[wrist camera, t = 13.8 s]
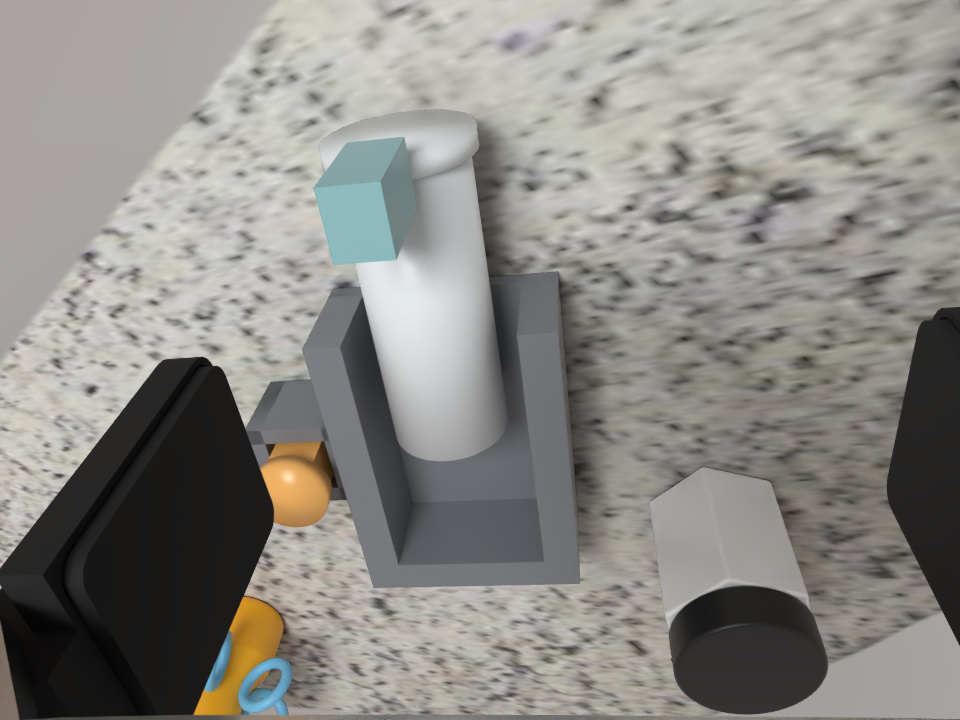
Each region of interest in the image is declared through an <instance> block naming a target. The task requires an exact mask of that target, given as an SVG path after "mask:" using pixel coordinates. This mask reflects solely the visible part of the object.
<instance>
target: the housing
mask: <svg viewBox="0 0 960 720" xmlns="http://www.w3.org/2000/svg"><path fill="white" fill-rule="evenodd" d="M489 283H490V290H491V298H492V305H493V312H494V319H495V327H496V334H497V341H498V348H499V356H500V363H501V370H502V377H503V385H504V392H505V399H506V406H507V414H508V424H507V427H506V430H505V432H504V433H503V435H502V436H501V437H500V439H499V440H498V441H497V442H496V443H494V444H493V445H492V446H490V447H489V448H487V449H486V450H484V451H482V452H480V453H478V454H476V455H473V456H470V457H467V458H463V459H459V460H453V461H430V460H424V459H421V458H417V457H415V456H413V455H411V454H409V453H408V452H406V451H405V450H404V449H403V448H402V447H401V446H400V445H399V443H398V441H397V437H396V433H395V429H394V425H393V420H392V416H391V412H390V408H389V404H388V400H387V395H386V391H385V387H384V383H383V379H382V375H381V370H380V366H379V362H378V358H377V354H376V350H375V345H374V341H373V337H372V333H371V329H370V324H369V320H368V316H367V312H366V308H365V304H364V299H363V295H362V291H361V287H352V288H339V289H333V290H332V292H331V294H330V296H329V298H328V300H327V302H326V304H325V306H324V308H323V310H322V312H321V314H320V315H319V317H318V319H317V321H316V323H315V325H314V327H313V329H312V331H311V333H310V335H309V337H308V339H307V341H306V343H305V345H304V347H303V349H302V351H303V354H304V357H305V361H306V364H307V367H308V371H309V374H310V377H311V380H296V381H279V382H270V384H269V386H268V388H267V390H266V391H265V393H264V395H263V397H262V399H261V401H260V403H259V404H258V406H257V408H256V410H255V412H254V414H253V416H252V417H251V419H250V421H249V423H248V425H247V427H246V428H245V429H246V432H247V435H248V437H249V440H250V443H251V445H252V448H253V451H254V454H255V456H256V459H257V462H258V464H259V467H261V465H262V464H263V463H264V462H266V461H267V460H268V459H269V457H270V455H271V453H272V451H273V449H274V447H275V445H276V444H279V443H300V442H320V441H324V442H325V446H326V449H327V452H328V455H329V459H330V462H331V465H332V469H333V472H334V475H333V477H332V480H331V484H332V496H331V499H330V500H347V501H348V504H349V507H350V511H351V514H352V517H353V521H354V524H355V527H356V531H357V534H358V537H359V541H360V544H361V547H362V551H363V554H364V557H365V561H366V564H367V567H368V571H369V574H370V577H371V581H372V584H373V587H374V588H394V587H444V586H494V585H544V584H580V568H579V531H578V504H577V492H576V480H575V468H574V456H573V444H572V432H571V420H570V408H569V396H568V384H567V372H566V360H565V348H564V336H563V324H562V312H561V300H560V288H559V276H558V272H546V273H533V274H521V275H508V276H495V277H489Z"/></svg>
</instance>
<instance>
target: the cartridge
mask: <svg viewBox="0 0 960 720" xmlns="http://www.w3.org/2000/svg"><path fill="white" fill-rule="evenodd" d="M478 149H479V139H478V131H477V124H476V120H475V119H474V118H473V117H472V116H470V115H468V114H466V113H462V112H458V111H451V110H416V111H407V112H399V113H393V114H388V115H383V116H378V117H374V118H370V119H366V120H363V121H360V122H356V123H353V124H351V125H348V126H345V127H343V128H341V129H339V130H337V131H335V132H333V133H331V134H329V135H328V136H327V137H325V138H324V139H323V140H322V141H321V142H320V144H319V146H318V150H319V154H320V159H321V163H322V167H323V171H324V174H323V176H322V177H321V179H320V180H319V181H318V183H317V184H316V185H315V187H314V191H315V195H316V199H317V203H318V207H319V211H320V214H321V218H322V222H323V226H324V230H325V234H326V238H327V242H328V246H329V250H330V253H331V257H332V261H333V265H341V264H353V263H355V266H356V270H357V274H358V279H359V283H360V287H361V291H362V295H363V299H364V304H365V308H366V312H367V316H368V320H369V324H370V329H371V333H372V337H373V341H374V345H375V350H376V354H377V358H378V362H379V366H380V370H381V375H382V379H383V383H384V387H385V391H386V395H387V400H388V404H389V408H390V412H391V416H392V420H393V425H394V429H395V433H396V437H397V441H398V443H399V445H400V446H401V447H402V448H403V449H404V450H405V451H406V452H408V453H409V454H411V455H413V456H415V457H417V458H421V459H424V460H430V461H453V460H459V459H463V458H467V457H470V456H473V455H476V454H478V453H480V452H482V451H484V450H486V449H487V448H489V447H490V446H492V445H493V444H494V443H496V442H497V441H498V440H499V439H500V437H501V436H502V435H503V433H504V432H505V430H506V427H507V424H508V414H507V406H506V399H505V392H504V385H503V377H502V370H501V363H500V356H499V348H498V341H497V334H496V327H495V319H494V312H493V305H492V298H491V290H490V283H489V276H488V269H487V261H486V254H485V247H484V240H483V232H482V225H481V218H480V211H479V203H478V196H477V189H476V182H475V174H474V167H473V160H472V156H473V155H474V154H475V153H476V152H477V151H478Z"/></svg>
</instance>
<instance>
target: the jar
mask: <svg viewBox="0 0 960 720" xmlns="http://www.w3.org/2000/svg"><path fill="white" fill-rule="evenodd" d="M649 506H650V513H651V520H652V528H653V535H654V542H655V549H656V557H657V564H658V571H659V579H660V586H661V593H662V600H663V608H664V615H665V618H666V622H667V625H668V628H669V641H670V648H671V655H672V658H671V660H672V663H673V670H674V676H675V679H676V682H677V684H678V686H679V687H680V689H681V690H682V691H683V692H684V693H685V694H686V695H687V696H688V697H689V698H690V699H692V700H693V701H695V702H697V703H698V704H700V705H702V706H704V707H707V708H710V709H713V710H716V711H720V712H725V713H733V714H762V713H768V712H774V711H778V710H781V709H785V708H788V707H790V706H793V705H795V704H797V703H799V702H801V701H803V700H804V699H806V698H808V697H809V696H810V695H812V694H813V693H814V692H815V691H816V690H817V689H818V688H819V687H820V685H821V684H822V682H823V680H824V679H825V677H826V674H827V670H828V659H827V655H826V652H825V648H824V645H823V642H822V639H821V636H820V633H819V630H818V627H817V624H816V621H815V619H814V616H813V614H812V613H811V609H810V602H809V596H808V592H807V589H806V586H805V584H804V581H803V578H802V575H801V572H800V569H799V566H798V563H797V560H796V557H795V554H794V551H793V548H792V545H791V542H790V539H789V536H788V533H787V530H786V527H785V524H784V521H783V518H782V515H781V512H780V509H779V506H778V503H777V500H776V497H775V494H774V491H773V488H772V485H771V483H770V482H769V481H767V480H762V479H757V478H753V477H748V476H744V475H739V474H734V473H730V472H725V471H720V470H716V469H711V468H706V467H702V468H700V469H698V470H697V471H695V472H694V473H692V474H691V475H690V476H688V477H687V478H685V479H684V480H682V481H681V482H679V483H678V484H676V485H675V486H673V487H672V488H670V489H669V490H667V491H666V492H664V493H663V494H661V495H660V496H658V497H657V498H655V499H654V500H652V501H651V502H650V504H649Z"/></svg>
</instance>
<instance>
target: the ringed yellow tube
mask: <svg viewBox="0 0 960 720" xmlns="http://www.w3.org/2000/svg"><path fill="white" fill-rule="evenodd" d="M283 631H284V625H283V621H282V618H281V616H280V615H279V613H278V612H277V611H276V610H275V609H274V608H272V607H271V606H269V605H268V604H266V603H264V602H262V601H260V600H257V599H254V598H250V597H243V599H242V601H241V603H240V606H239V608H238V610H237V613H236V615H235V617H234V620H233V622H232V625H231V627H230V629H229V632H228V634H227V636H226V639H225V641H224V644H223V646H222V648H221V651H220V653H219V655H218V658H217V660H216V662H215V665H214V667H213V670H212V672H211V674H210V677H209V679H208V681H207V684H206V686H205V689H204V691H203V693H202V696H201V698H200V700H199V703H198V705H197V707H196V710H195V712H194V715H249V712H250V713H257V712H261V711H264V710H266V709H268V708H270V707H271V706H273V705H274V707H275V708H276V710H277V713H278V715H289V714H288V709H287V706H286V704H285V702H284V700H283V699H282V697H283V695H284V694H285V693H286V691H287V689H288V688H289V685H290V683H291V680H292V667H291V665H290V663H289V662H288V661H287V660H285V659H283V658H278V657H275V655H276V652H277V649H278V646H279V644H280V641H281V638H282V635H283ZM271 669H279V670H280V671H281V679H280V681H279V683H278V685H277V687H276V688H275V689H274V690H271V689H268V688H257V687H258V686H259V685H260V684H261V683H262V682H263V681H264V680H265V679H266V677H267V676H268V674H269V672H270V670H271ZM255 688H257V689H255ZM257 699H261V700H258V701H255V700H257Z"/></svg>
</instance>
